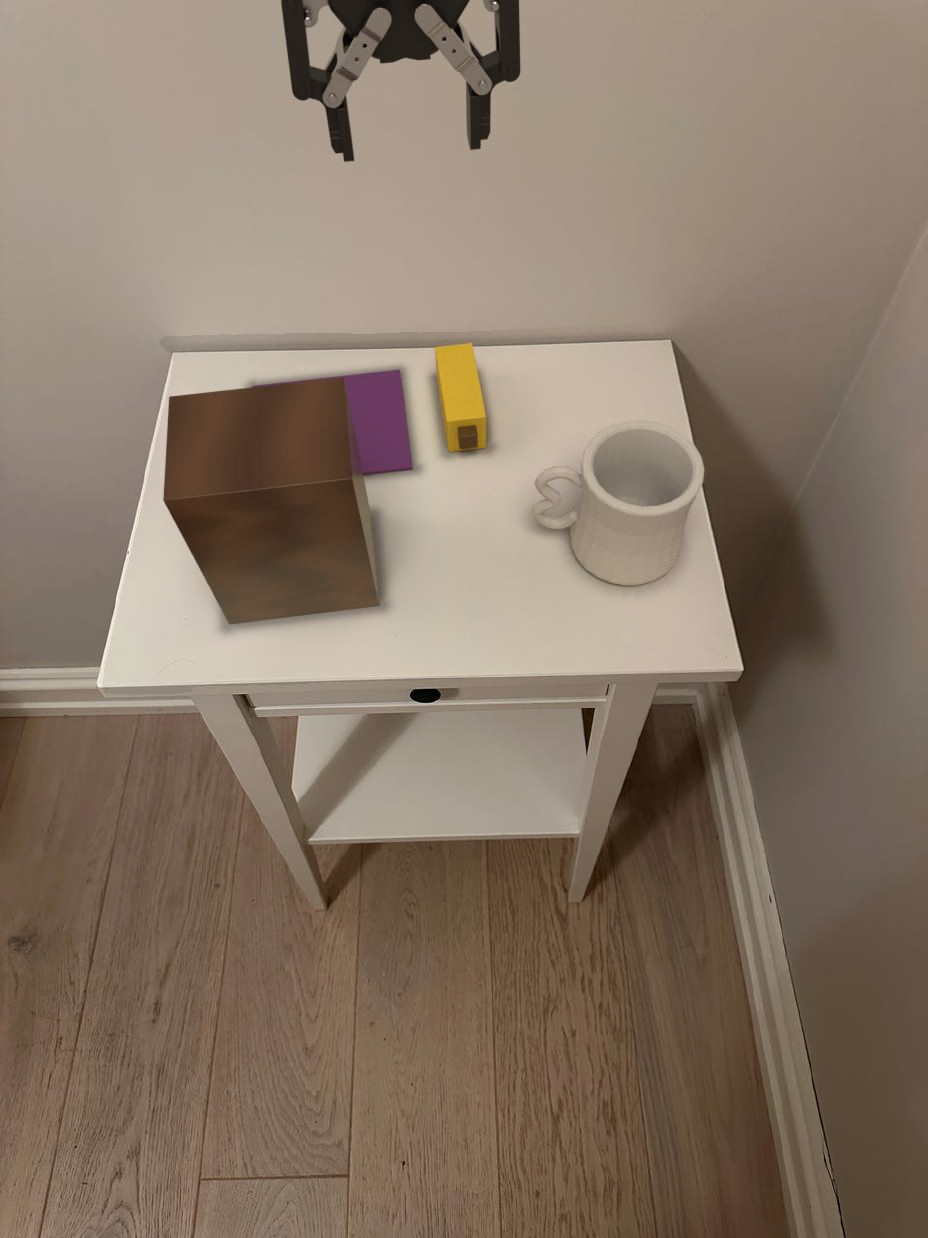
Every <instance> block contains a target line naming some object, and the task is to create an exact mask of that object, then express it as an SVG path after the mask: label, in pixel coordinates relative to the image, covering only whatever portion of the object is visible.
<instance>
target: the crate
mask: <svg viewBox="0 0 928 1238" xmlns="http://www.w3.org/2000/svg"><path fill="white" fill-rule="evenodd" d="M167 409H168V410H167V428H166V443H165V444H166V445H165V463H164V479H163V480H164V482H163V497H162V499H163V500H162V501H163V503H164V504H165V506H166V509H167V510H168V513H169V514H170V516H171V517H172V519H173V521H174V523H175V525H176V527H177V530H178V531H179V532H180V535H181V536H182V538H183V540H184V542H185V544H186V546H187V548H188V551H190V553H191V555H192V557H193V559H194V561H195V563H196V565H197V567H198V569H199V570H200V572H201V573H202V576H203V578H204V579H205V581H206V584H207V586H209V589H210V591H211V592H212V595H213V596H214V598H215V600H216V602H217V604H218V606H219V608H220V609H221V612H222V613H223V616H224V617H225V619H226V621H227V623H228V624H229V625H233V624H241V623H249V622H258V621H266V620H275V619H283V618H290V617H297V616H299V617H300V616H307V615H314V614H323V613H331V612H339V611H340V612H341V611H347V610H355V609H363V608H364V609H365V608H372V607H379V606H380V597H379V595H380V594H379V585H378V575H377V563H376V553H375V543H374V532H373V531H374V530H373V522H372V521H373V520H372V514H371V509H370V503H369V498H368V492H367V487H366V484H365V483H366V482H365V477H364V475H363V472H362V466H361V461H360V456H359V451H358V446H357V441H356V436H355V431H354V426H353V420H352V415H351V410H350V405H349V400H348V395H347V390H346V385H345V379H344V377H341V378H332V379H323V380H314V381H305V382H296V383H287V384H278V385H269V386H260V387H252V386H250V387H243V388H233V389H225V390H224V389H223V390H215V391H205V392H198V393H188V394H180V395H171V396H168V408H167Z"/></svg>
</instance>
